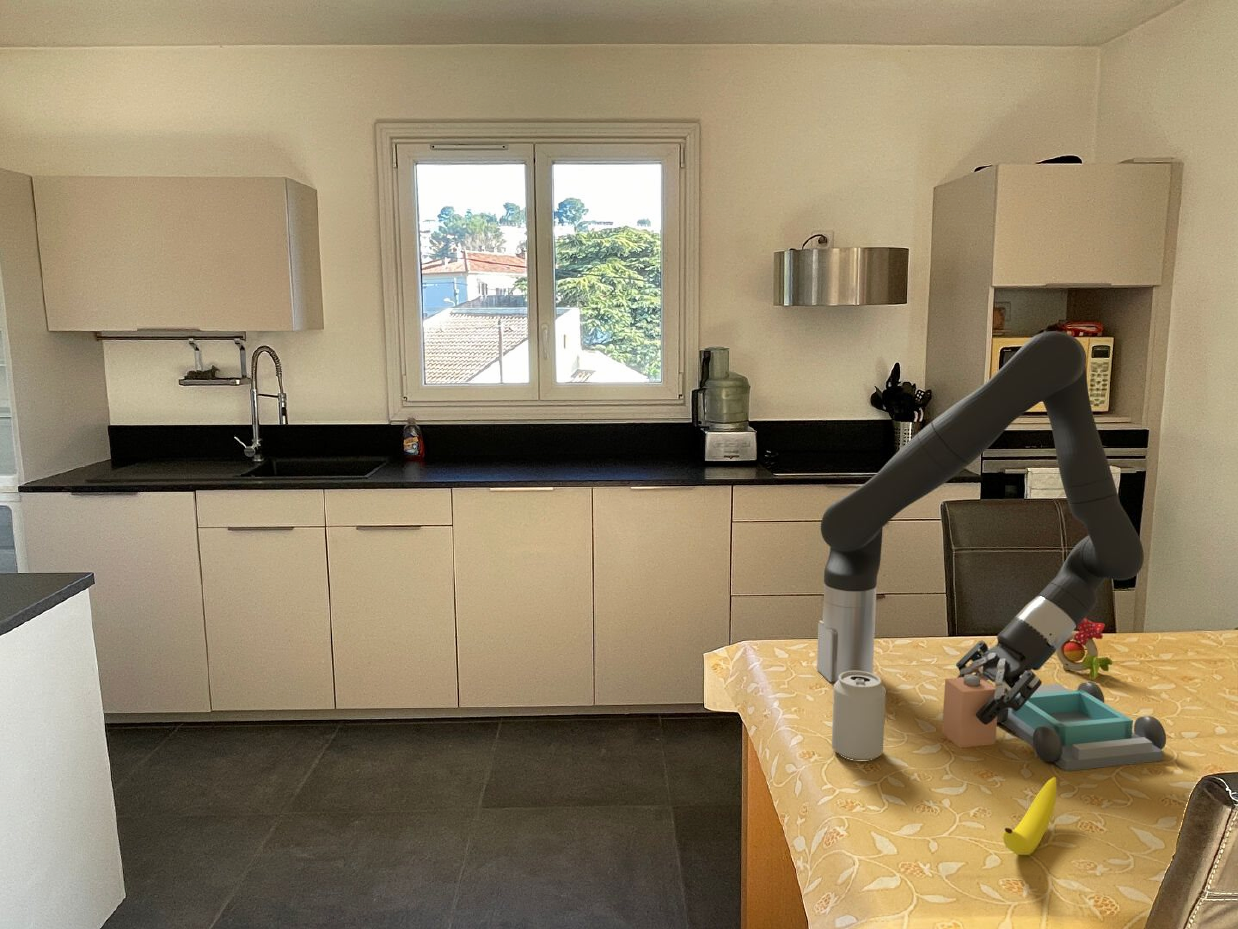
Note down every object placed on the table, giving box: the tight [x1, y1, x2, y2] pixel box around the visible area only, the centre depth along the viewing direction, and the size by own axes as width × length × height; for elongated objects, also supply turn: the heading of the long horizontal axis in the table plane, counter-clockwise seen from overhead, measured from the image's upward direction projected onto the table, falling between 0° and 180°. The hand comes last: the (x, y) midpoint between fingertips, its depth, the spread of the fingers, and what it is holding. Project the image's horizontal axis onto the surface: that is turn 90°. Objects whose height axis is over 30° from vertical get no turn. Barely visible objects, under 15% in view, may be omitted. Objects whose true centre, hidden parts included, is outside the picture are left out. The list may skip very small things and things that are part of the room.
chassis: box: [997, 681, 1167, 772], centre depth 140 cm, size 18×20×5 cm
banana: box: [1002, 776, 1057, 856], centre depth 112 cm, size 3×19×6 cm, turn 139°
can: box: [831, 671, 887, 761], centre depth 134 cm, size 8×8×12 cm
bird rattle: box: [1055, 618, 1113, 681], centre depth 163 cm, size 6×11×9 cm
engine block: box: [941, 674, 997, 748], centre depth 139 cm, size 6×5×10 cm
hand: (964, 708), depth 139 cm, fingers open, 8 cm apart
